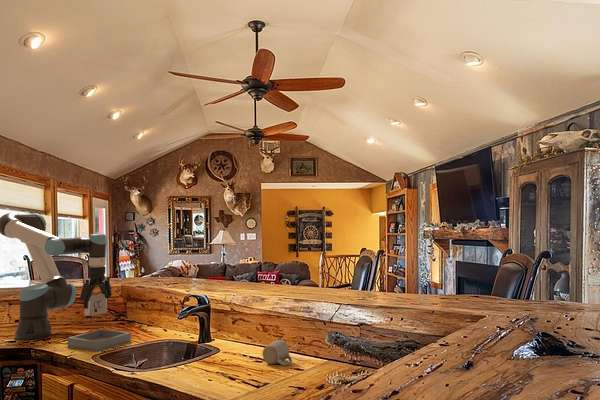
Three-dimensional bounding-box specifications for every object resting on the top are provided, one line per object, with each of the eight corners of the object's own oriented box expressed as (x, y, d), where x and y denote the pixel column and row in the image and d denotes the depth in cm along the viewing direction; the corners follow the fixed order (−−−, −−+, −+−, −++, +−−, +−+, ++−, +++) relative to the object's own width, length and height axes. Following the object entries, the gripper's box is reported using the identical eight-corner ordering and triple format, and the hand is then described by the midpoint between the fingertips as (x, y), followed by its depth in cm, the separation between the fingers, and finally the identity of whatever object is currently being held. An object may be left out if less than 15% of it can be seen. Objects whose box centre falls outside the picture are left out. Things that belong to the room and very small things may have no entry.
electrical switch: (91, 316, 219) (90, 296, 220) (83, 316, 222) (83, 296, 223) (108, 313, 228) (107, 293, 229) (100, 312, 230) (100, 293, 231)
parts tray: (67, 347, 201) (67, 337, 201) (101, 337, 217) (101, 328, 217) (97, 352, 193) (98, 342, 193) (130, 341, 209) (130, 332, 210)
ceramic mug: (260, 363, 176) (261, 342, 177) (273, 358, 183) (273, 338, 183) (284, 368, 171) (284, 347, 171) (296, 362, 178) (296, 342, 178)
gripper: (83, 268, 214) (81, 318, 213) (120, 264, 234) (119, 310, 233) (71, 267, 217) (70, 316, 216) (109, 263, 237) (108, 308, 236)
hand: (95, 313), depth 225 cm, fingers closed on electrical switch, 9 cm apart
